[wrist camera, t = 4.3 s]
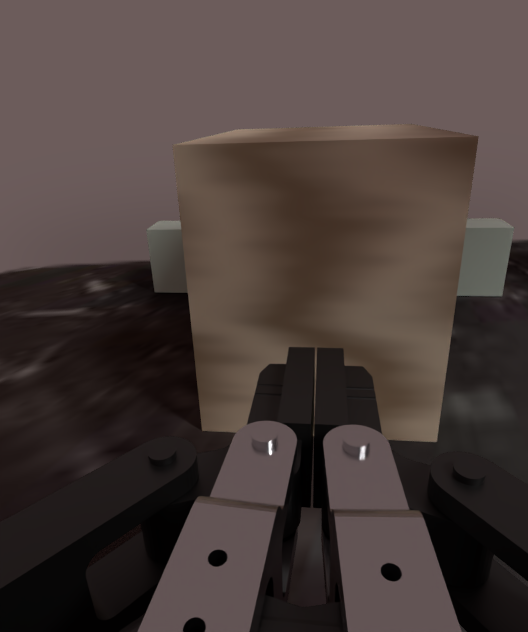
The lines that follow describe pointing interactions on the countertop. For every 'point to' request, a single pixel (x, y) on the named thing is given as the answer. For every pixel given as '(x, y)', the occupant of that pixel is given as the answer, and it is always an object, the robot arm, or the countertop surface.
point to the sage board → (474, 280)
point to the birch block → (325, 260)
